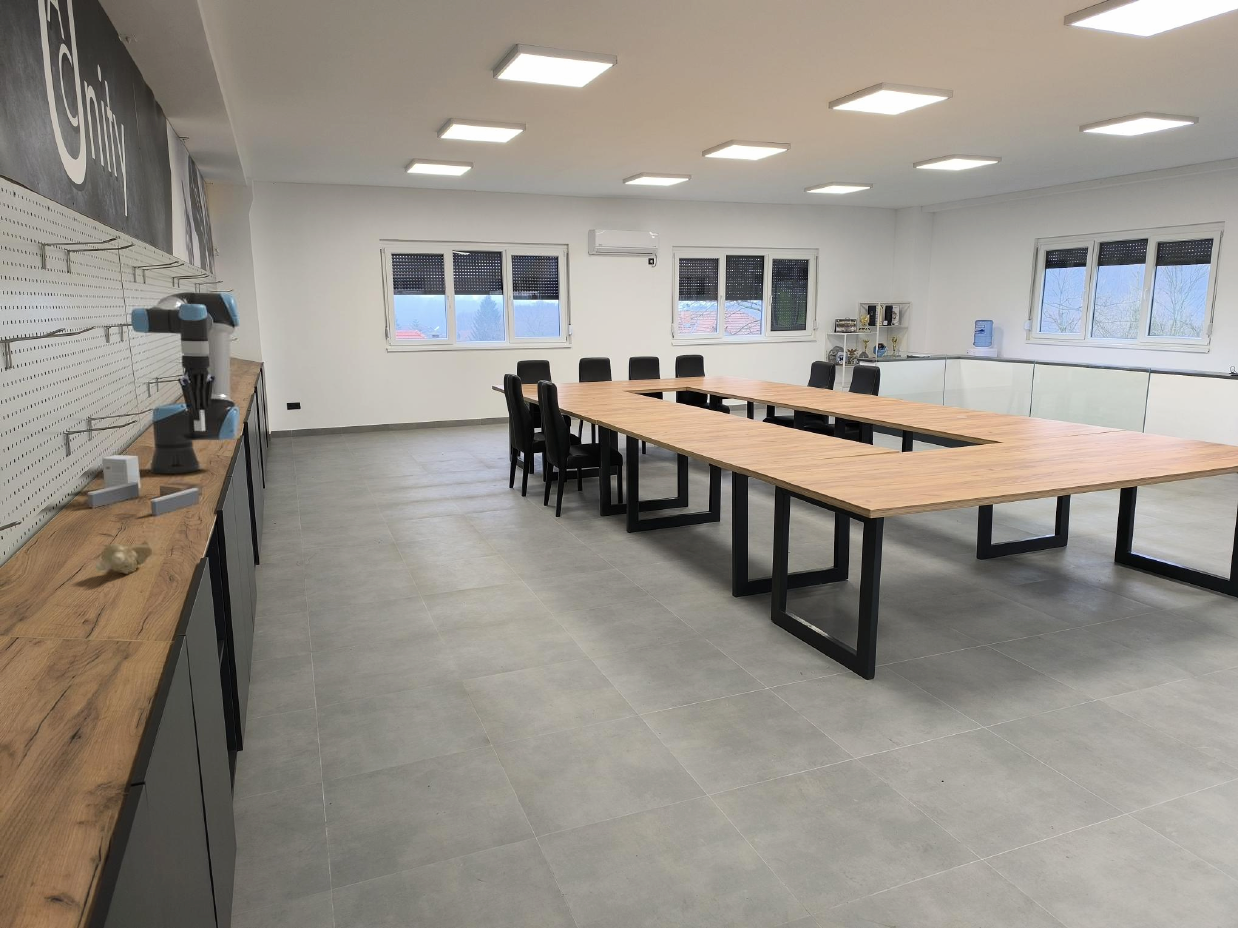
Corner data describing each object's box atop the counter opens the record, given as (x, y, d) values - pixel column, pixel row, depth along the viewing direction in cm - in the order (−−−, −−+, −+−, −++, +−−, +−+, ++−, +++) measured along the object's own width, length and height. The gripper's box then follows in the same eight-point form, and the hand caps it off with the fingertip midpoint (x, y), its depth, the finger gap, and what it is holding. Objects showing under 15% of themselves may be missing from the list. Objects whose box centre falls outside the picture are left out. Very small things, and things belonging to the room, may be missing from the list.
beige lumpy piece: (154, 538, 183) (120, 538, 171) (160, 569, 182) (126, 571, 170) (119, 547, 183) (83, 548, 171) (125, 578, 182) (89, 580, 170)
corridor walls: (134, 495, 244) (133, 481, 243) (199, 503, 238) (198, 488, 237) (88, 507, 228) (87, 492, 228) (156, 516, 223) (155, 500, 222)
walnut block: (181, 492, 251) (180, 480, 250) (202, 495, 249) (201, 482, 248) (160, 498, 243) (159, 485, 242) (182, 501, 241) (181, 488, 240)
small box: (141, 488, 253) (138, 456, 251) (128, 492, 248) (126, 459, 245) (117, 487, 254) (114, 454, 252) (104, 491, 248) (101, 457, 246)
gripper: (200, 353, 254) (205, 427, 259) (168, 355, 242) (173, 432, 246) (220, 354, 252) (224, 428, 257) (189, 356, 240) (194, 434, 244)
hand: (199, 430), depth 252 cm, fingers closed
